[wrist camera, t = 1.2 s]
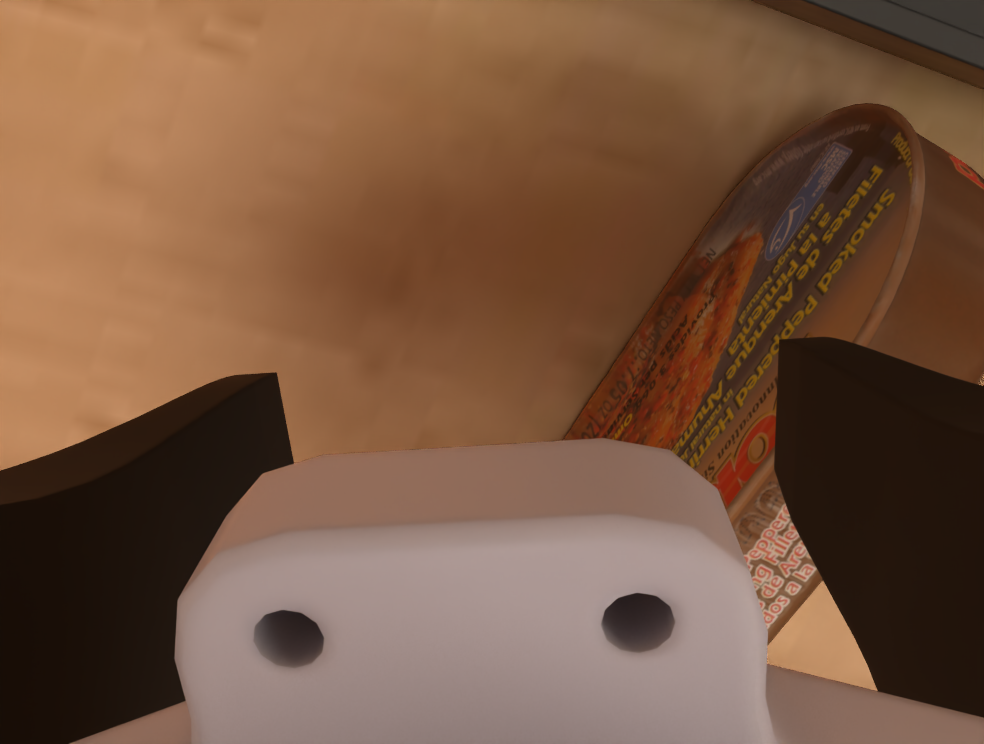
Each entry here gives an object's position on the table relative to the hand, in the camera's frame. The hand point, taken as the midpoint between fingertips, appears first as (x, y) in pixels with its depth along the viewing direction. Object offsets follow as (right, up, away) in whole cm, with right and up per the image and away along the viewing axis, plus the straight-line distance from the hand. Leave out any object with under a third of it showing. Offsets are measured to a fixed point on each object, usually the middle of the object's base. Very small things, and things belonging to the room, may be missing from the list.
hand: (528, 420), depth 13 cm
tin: (+4, +1, +10) cm, 11 cm away
